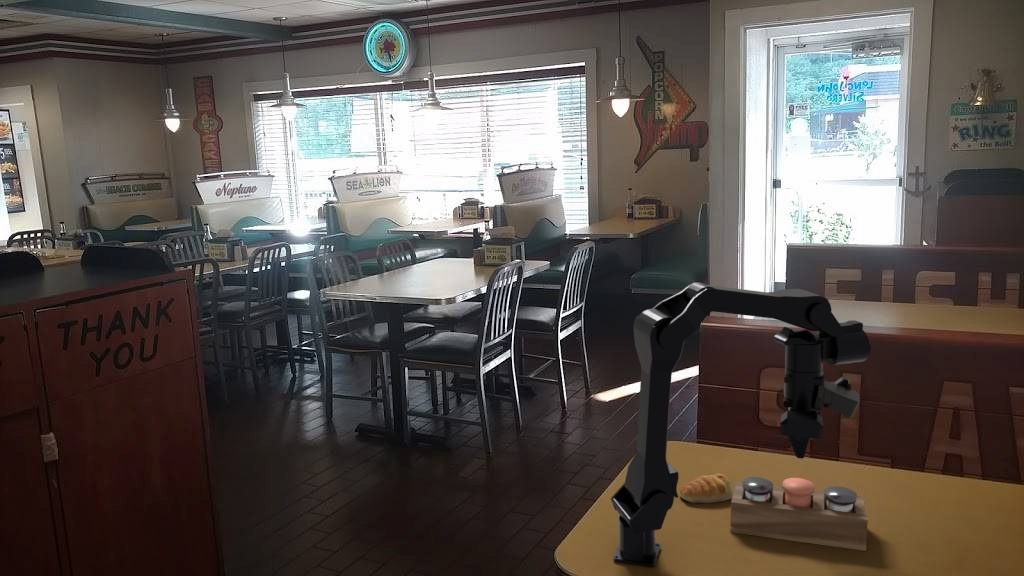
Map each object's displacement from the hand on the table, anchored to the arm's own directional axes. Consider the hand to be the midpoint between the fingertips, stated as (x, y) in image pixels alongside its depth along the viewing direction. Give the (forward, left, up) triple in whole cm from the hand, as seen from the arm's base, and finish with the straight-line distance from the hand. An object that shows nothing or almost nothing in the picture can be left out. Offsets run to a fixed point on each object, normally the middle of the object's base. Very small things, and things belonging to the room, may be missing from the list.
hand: (800, 457), depth 132 cm
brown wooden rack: (0, 0, -13) cm, 13 cm away
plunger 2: (0, -6, -11) cm, 13 cm away
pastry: (+8, +16, -13) cm, 22 cm away
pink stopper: (0, 0, -11) cm, 11 cm away
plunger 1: (0, +7, -11) cm, 13 cm away
